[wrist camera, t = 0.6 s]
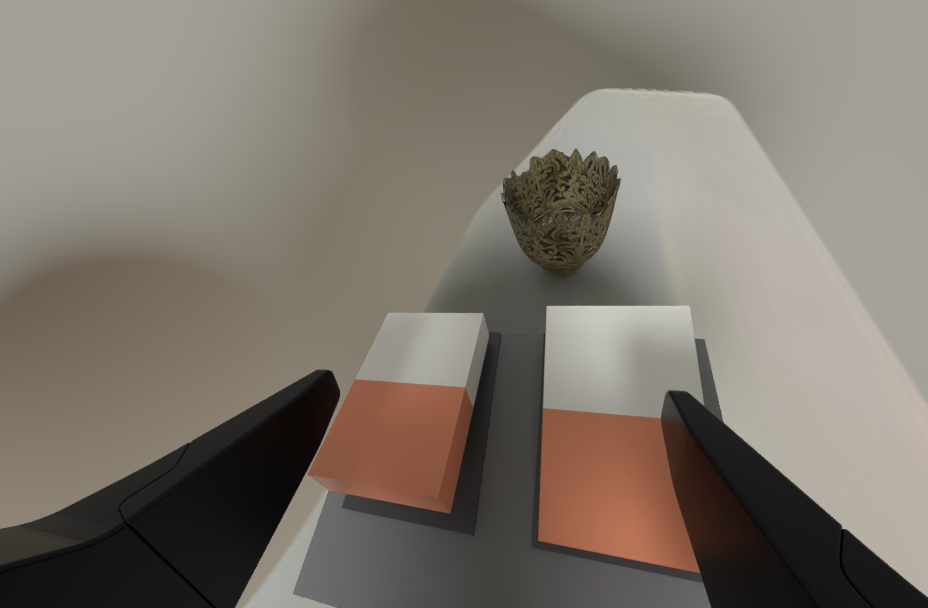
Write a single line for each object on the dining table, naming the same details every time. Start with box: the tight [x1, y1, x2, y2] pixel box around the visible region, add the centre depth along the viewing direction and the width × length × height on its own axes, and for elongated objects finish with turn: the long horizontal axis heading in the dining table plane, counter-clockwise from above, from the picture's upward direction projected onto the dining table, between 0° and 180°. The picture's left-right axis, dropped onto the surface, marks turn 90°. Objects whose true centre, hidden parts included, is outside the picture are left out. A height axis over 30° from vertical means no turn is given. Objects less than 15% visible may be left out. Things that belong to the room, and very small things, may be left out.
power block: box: [293, 333, 723, 608], centre depth 17 cm, size 12×16×7 cm
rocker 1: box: [308, 313, 489, 513], centre depth 15 cm, size 8×5×2 cm, turn 170°
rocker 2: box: [538, 306, 704, 573], centre depth 13 cm, size 8×5×2 cm, turn 170°
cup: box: [501, 149, 621, 276], centre depth 26 cm, size 8×7×8 cm
